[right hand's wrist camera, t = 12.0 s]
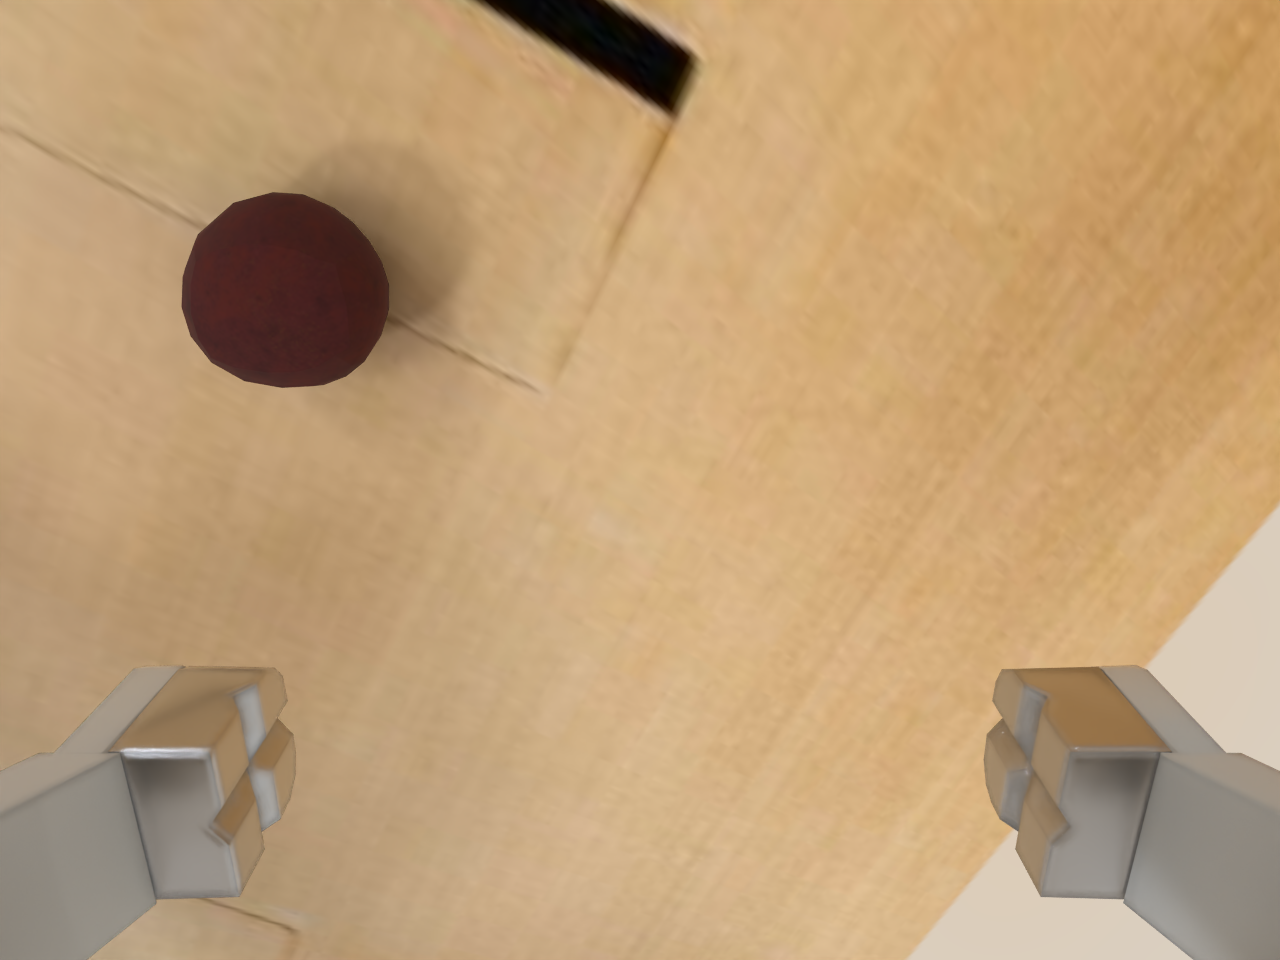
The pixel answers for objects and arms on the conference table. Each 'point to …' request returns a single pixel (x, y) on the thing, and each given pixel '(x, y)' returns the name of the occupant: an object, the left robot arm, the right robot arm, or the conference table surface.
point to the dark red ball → (284, 292)
